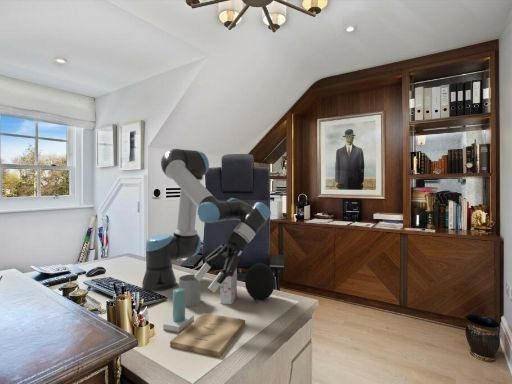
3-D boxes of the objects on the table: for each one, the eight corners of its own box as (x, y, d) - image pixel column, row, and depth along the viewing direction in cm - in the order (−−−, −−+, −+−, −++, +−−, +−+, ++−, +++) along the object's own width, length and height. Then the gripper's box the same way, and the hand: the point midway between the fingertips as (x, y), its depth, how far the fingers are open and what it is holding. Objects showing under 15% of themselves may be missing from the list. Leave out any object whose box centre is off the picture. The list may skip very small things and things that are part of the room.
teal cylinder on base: (163, 330, 95) (163, 293, 94) (179, 318, 103) (179, 284, 103) (179, 333, 93) (178, 296, 92) (193, 320, 101) (193, 286, 101)
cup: (189, 308, 111) (189, 282, 111) (174, 303, 116) (174, 278, 116) (204, 300, 119) (204, 276, 118) (190, 296, 123) (190, 273, 123)
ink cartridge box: (226, 295, 124) (226, 261, 124) (237, 296, 123) (237, 262, 123) (219, 303, 116) (219, 267, 115) (231, 304, 115) (231, 268, 114)
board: (170, 346, 85) (170, 341, 85) (203, 317, 104) (203, 312, 104) (219, 357, 80) (219, 351, 80) (245, 324, 99) (245, 319, 99)
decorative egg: (245, 306, 113) (245, 268, 113) (244, 294, 126) (244, 259, 125) (276, 305, 114) (276, 267, 114) (272, 293, 127) (272, 259, 126)
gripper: (265, 249, 99) (225, 302, 92) (232, 238, 121) (198, 280, 113) (251, 235, 96) (210, 289, 89) (220, 226, 118) (184, 269, 110)
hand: (203, 284), depth 101 cm, fingers open, 13 cm apart
